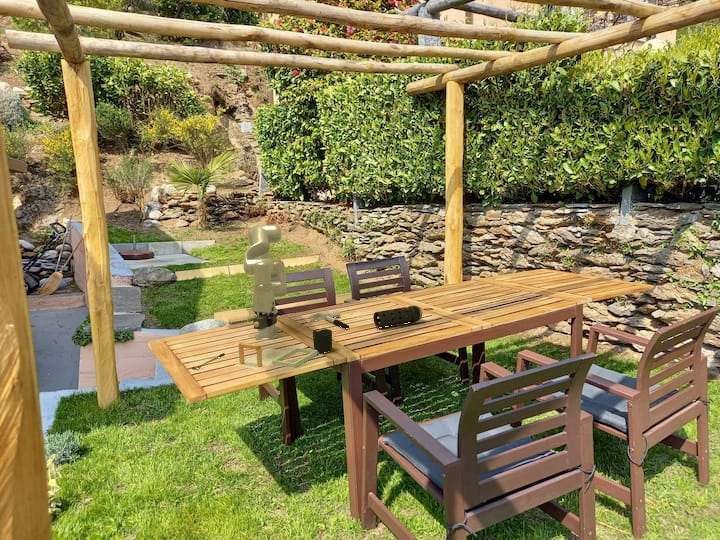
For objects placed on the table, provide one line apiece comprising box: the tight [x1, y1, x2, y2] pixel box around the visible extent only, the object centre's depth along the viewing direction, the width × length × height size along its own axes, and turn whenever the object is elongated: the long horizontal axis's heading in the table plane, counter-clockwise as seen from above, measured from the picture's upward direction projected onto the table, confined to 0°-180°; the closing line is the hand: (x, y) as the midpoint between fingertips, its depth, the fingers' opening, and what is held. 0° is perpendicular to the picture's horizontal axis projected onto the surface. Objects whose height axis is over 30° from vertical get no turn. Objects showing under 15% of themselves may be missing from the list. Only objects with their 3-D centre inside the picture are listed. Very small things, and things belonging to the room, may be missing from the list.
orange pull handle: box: [237, 342, 263, 367], centre depth 212 cm, size 2×11×9 cm, turn 65°
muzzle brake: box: [372, 305, 423, 329], centre depth 273 cm, size 10×28×10 cm, turn 117°
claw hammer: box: [307, 310, 350, 330], centre depth 280 cm, size 5×22×30 cm
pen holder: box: [312, 328, 333, 353], centre depth 231 cm, size 9×9×10 cm
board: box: [233, 348, 290, 371], centre depth 221 cm, size 26×14×1 cm, turn 155°
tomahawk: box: [191, 353, 226, 371], centre depth 220 cm, size 21×7×1 cm, turn 156°
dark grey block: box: [252, 313, 278, 330], centre depth 222 cm, size 14×4×5 cm, turn 155°
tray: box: [271, 347, 319, 369], centre depth 219 cm, size 20×12×2 cm, turn 155°
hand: (265, 325), depth 222 cm, fingers closed on dark grey block, 4 cm apart
